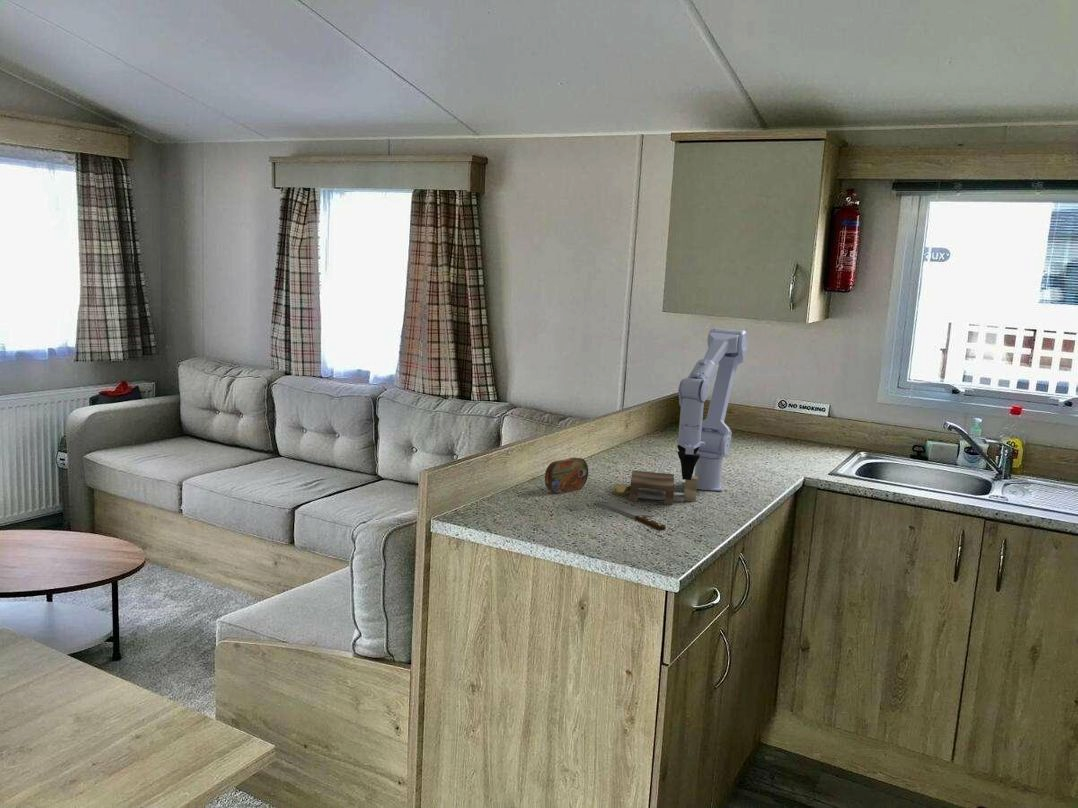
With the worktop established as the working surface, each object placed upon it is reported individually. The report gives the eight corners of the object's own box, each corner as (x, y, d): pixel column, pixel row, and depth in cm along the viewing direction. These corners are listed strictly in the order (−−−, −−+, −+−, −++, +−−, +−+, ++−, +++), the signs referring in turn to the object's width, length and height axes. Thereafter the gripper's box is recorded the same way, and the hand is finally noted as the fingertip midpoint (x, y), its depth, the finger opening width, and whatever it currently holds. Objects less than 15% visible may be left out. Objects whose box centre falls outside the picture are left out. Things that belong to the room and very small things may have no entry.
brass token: (613, 490, 238) (614, 483, 237) (632, 492, 237) (632, 485, 237) (612, 495, 233) (612, 487, 232) (631, 497, 232) (631, 489, 232)
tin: (550, 496, 228) (552, 463, 226) (541, 493, 230) (543, 461, 229) (588, 487, 239) (590, 456, 237) (579, 485, 241) (581, 454, 240)
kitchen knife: (687, 525, 208) (653, 527, 202) (686, 529, 208) (652, 531, 203) (624, 499, 228) (592, 500, 223) (624, 503, 228) (592, 504, 223)
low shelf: (631, 487, 241) (632, 470, 241) (672, 491, 240) (673, 474, 239) (629, 500, 228) (630, 482, 227) (672, 504, 226) (674, 486, 226)
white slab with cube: (632, 491, 237) (634, 469, 236) (695, 497, 235) (697, 474, 234) (631, 497, 232) (633, 474, 231) (696, 503, 229) (698, 480, 228)
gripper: (707, 431, 222) (703, 484, 224) (705, 420, 236) (700, 470, 238) (679, 428, 223) (674, 481, 225) (678, 418, 237) (674, 468, 239)
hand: (686, 475), depth 232 cm, fingers open, 7 cm apart
